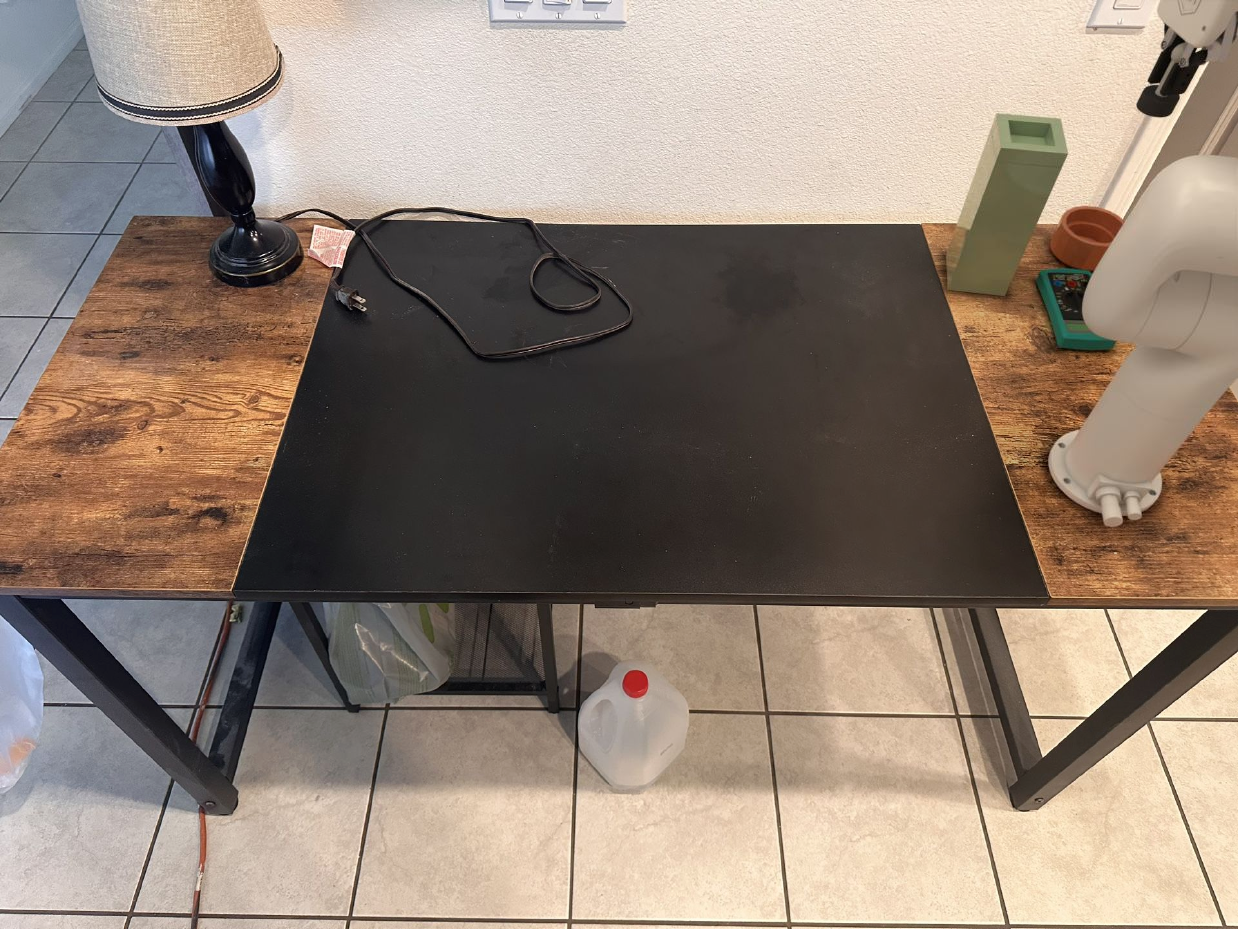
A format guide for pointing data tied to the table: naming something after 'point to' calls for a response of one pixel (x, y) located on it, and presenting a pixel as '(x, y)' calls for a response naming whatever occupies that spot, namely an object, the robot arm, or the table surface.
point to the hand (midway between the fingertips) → (1165, 86)
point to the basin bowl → (1084, 236)
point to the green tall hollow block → (1005, 202)
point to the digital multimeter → (1069, 308)
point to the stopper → (1151, 97)
